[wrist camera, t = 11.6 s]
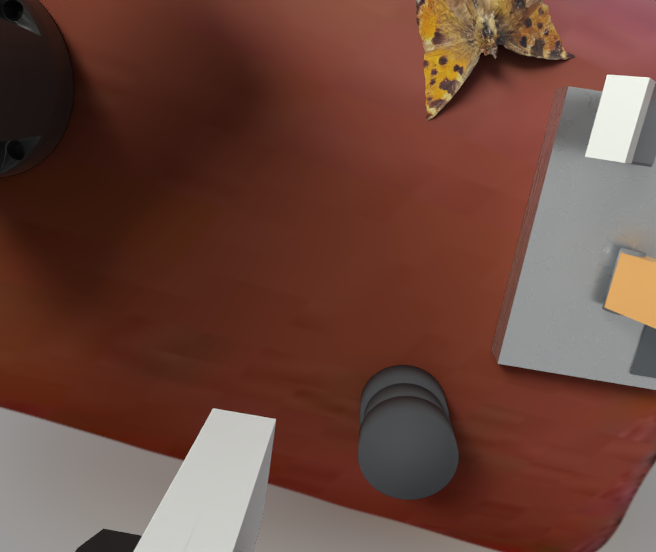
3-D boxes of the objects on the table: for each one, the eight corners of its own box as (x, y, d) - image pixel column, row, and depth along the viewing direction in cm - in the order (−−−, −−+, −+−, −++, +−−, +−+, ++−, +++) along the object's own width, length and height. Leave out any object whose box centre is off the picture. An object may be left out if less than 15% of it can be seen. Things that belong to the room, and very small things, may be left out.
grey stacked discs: (354, 432, 47) (351, 490, 40) (368, 358, 45) (366, 404, 38) (436, 446, 47) (447, 507, 40) (453, 372, 45) (468, 422, 38)
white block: (624, 162, 37) (584, 158, 30) (644, 94, 36) (608, 72, 28) (657, 167, 36) (624, 164, 29) (678, 97, 35) (650, 75, 27)
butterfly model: (584, 51, 38) (602, 46, 35) (416, 126, 40) (418, 127, 37) (545, -77, 36) (560, -94, 33) (370, 9, 38) (369, 1, 36)
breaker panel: (490, 350, 44) (498, 364, 41) (556, 88, 38) (569, 86, 36) (642, 375, 44) (659, 391, 41) (731, 114, 38) (757, 113, 35)
